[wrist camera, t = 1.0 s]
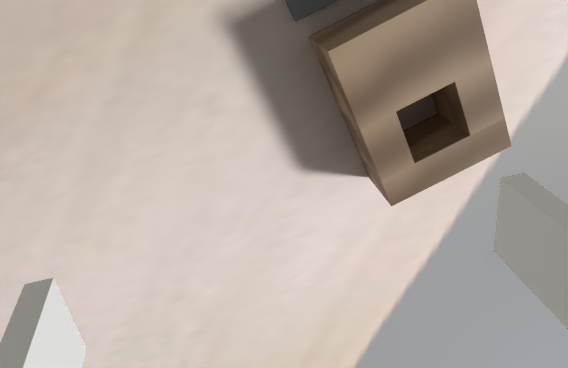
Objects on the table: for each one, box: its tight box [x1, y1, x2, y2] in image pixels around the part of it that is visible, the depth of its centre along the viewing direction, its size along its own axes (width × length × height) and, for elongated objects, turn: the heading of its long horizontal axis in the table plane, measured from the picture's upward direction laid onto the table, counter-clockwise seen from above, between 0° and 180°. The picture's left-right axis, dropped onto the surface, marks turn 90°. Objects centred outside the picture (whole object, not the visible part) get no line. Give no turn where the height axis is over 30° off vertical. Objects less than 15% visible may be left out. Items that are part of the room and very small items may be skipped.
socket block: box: [309, 0, 511, 206], centre depth 37 cm, size 13×10×5 cm
